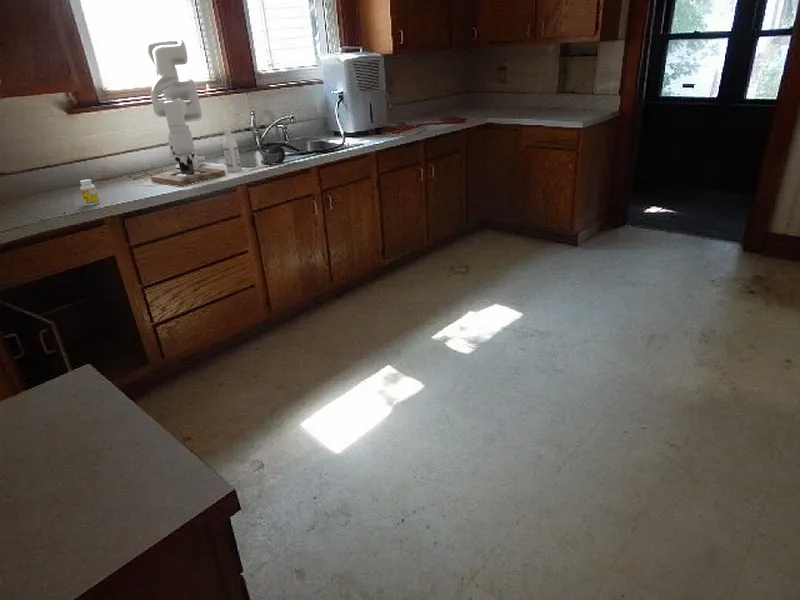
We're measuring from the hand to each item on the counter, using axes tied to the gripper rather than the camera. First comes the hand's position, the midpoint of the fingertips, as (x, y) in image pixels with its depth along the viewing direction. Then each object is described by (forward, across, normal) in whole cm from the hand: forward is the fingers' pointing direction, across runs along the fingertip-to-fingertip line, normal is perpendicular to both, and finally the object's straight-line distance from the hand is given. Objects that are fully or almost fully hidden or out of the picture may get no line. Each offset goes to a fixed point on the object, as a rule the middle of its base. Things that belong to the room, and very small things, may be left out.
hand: (187, 169), depth 249 cm
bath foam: (+4, -21, +7) cm, 23 cm away
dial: (+4, 0, 0) cm, 4 cm away
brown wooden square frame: (+4, 0, 0) cm, 4 cm away
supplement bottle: (+4, +47, +4) cm, 47 cm away
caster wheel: (+5, -40, +14) cm, 43 cm away
